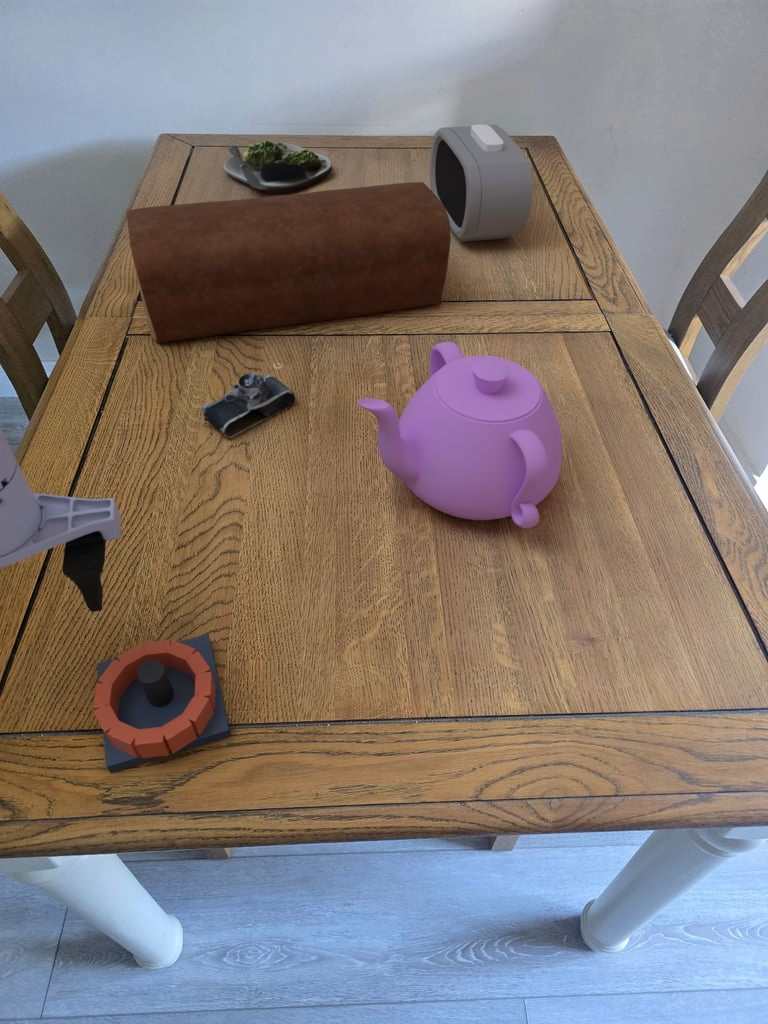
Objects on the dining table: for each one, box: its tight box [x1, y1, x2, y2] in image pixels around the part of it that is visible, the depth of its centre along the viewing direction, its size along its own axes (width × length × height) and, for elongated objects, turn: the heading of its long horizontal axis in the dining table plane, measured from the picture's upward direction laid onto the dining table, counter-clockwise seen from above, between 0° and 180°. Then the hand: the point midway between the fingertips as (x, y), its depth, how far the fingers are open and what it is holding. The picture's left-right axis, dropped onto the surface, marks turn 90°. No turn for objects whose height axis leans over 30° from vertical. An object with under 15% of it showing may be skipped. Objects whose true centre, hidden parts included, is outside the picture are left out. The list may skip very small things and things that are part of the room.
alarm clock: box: [429, 124, 534, 243], centre depth 109 cm, size 21×10×13 cm, turn 13°
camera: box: [201, 372, 297, 439], centre depth 79 cm, size 5×10×4 cm, turn 133°
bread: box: [125, 181, 452, 344], centre depth 92 cm, size 16×39×13 cm, turn 107°
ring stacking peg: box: [96, 633, 232, 774], centre depth 54 cm, size 9×9×5 cm
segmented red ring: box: [92, 639, 216, 758], centre depth 54 cm, size 8×8×2 cm
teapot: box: [356, 341, 563, 529], centre depth 69 cm, size 22×22×14 cm
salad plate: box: [223, 140, 333, 196], centre depth 123 cm, size 19×18×5 cm
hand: (41, 609), depth 51 cm, fingers open, 7 cm apart
